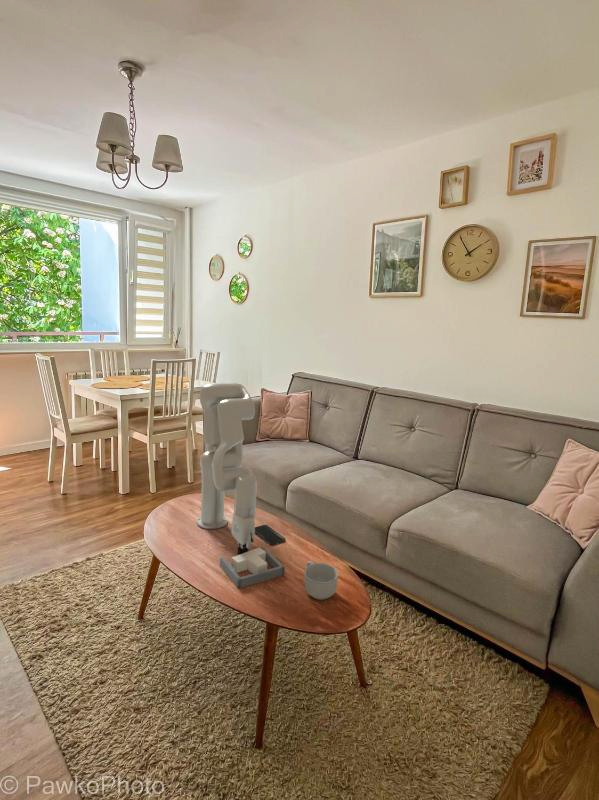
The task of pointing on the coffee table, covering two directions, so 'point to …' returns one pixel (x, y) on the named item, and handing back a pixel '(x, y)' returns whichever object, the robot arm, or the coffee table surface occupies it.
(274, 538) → the phone
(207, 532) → the coffee table surface
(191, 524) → the coffee table surface
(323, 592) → the teacup
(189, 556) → the coffee table surface
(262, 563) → the t block
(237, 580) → the bay
